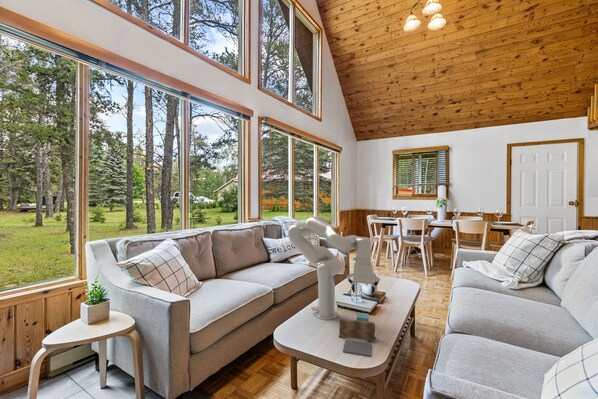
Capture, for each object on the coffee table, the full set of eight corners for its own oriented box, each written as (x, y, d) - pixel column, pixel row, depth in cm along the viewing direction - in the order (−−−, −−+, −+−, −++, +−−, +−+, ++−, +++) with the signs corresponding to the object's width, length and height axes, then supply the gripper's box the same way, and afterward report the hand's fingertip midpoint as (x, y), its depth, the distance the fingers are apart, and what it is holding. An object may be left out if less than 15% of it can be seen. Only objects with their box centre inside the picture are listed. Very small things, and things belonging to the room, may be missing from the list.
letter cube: (356, 328, 146) (356, 317, 146) (357, 323, 152) (357, 312, 152) (368, 330, 144) (368, 318, 144) (368, 324, 150) (368, 313, 150)
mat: (342, 352, 124) (342, 350, 124) (345, 340, 134) (345, 339, 134) (370, 356, 121) (370, 355, 121) (371, 344, 130) (371, 343, 130)
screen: (338, 337, 137) (338, 321, 136) (340, 331, 142) (340, 316, 142) (374, 342, 132) (374, 326, 132) (374, 336, 138) (375, 320, 137)
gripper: (346, 261, 146) (345, 293, 146) (380, 263, 141) (380, 297, 142) (347, 258, 153) (347, 288, 154) (380, 260, 148) (380, 292, 149)
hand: (363, 292), depth 148 cm, fingers open, 9 cm apart
